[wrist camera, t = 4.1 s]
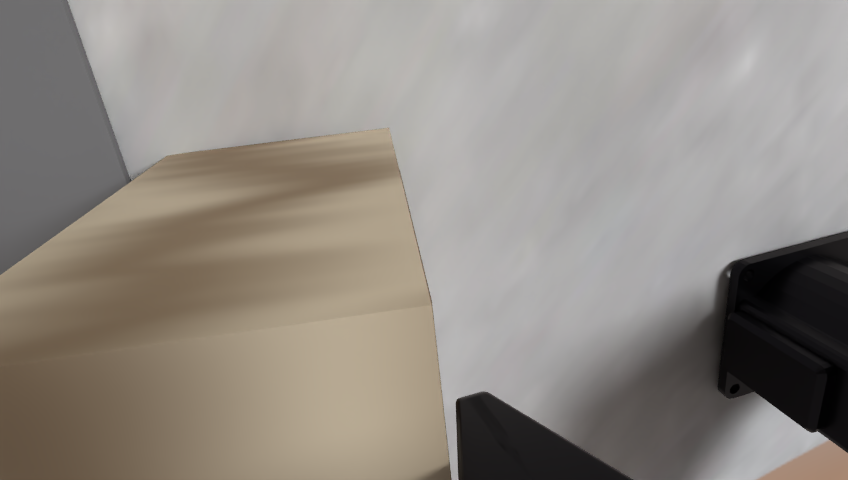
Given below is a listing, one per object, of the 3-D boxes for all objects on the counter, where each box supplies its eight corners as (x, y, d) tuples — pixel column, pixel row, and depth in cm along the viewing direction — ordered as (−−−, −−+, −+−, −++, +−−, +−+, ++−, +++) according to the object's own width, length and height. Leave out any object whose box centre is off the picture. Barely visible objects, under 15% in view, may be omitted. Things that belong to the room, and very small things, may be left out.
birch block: (392, 127, 15) (440, 303, 6) (415, 314, 17) (477, 652, 8) (168, 155, 15) (-160, 389, 5) (222, 342, 17) (58, 728, 8)
